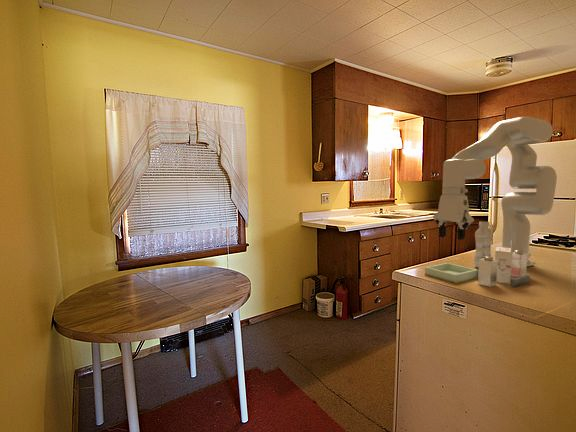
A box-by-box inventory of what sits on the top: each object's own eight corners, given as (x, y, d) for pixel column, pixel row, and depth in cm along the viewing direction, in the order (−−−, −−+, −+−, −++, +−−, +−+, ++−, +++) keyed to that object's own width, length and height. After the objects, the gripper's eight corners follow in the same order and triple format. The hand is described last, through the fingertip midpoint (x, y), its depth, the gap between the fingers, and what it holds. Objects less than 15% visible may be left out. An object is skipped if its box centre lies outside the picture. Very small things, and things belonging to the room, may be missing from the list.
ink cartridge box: (494, 276, 116) (496, 238, 114) (510, 278, 113) (512, 240, 111) (493, 281, 109) (495, 242, 107) (510, 284, 106) (512, 243, 104)
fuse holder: (502, 271, 121) (503, 247, 120) (539, 279, 110) (540, 253, 109) (466, 280, 110) (467, 254, 110) (503, 290, 99) (504, 261, 99)
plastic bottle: (492, 268, 127) (494, 221, 125) (489, 271, 122) (491, 223, 120) (475, 265, 131) (477, 220, 130) (471, 268, 126) (473, 222, 125)
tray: (446, 269, 126) (447, 262, 125) (478, 277, 114) (478, 269, 114) (424, 274, 119) (425, 267, 119) (455, 283, 108) (455, 275, 108)
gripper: (482, 192, 108) (480, 240, 109) (439, 192, 123) (437, 234, 125) (470, 192, 105) (467, 242, 106) (426, 192, 120) (425, 235, 121)
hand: (451, 237), depth 115 cm, fingers open, 6 cm apart
